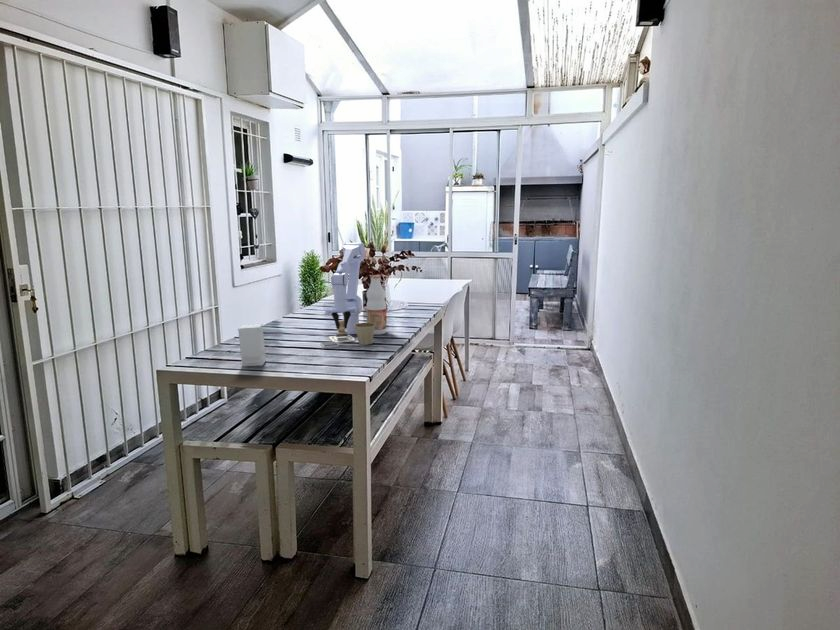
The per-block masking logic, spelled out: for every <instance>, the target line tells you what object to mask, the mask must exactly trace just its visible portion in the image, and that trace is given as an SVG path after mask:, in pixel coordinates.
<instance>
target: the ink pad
mask: <svg viewBox="0 0 840 630" xmlns="http://www.w3.org/2000/svg"><path fill="white" fill-rule="evenodd" d="M320 346H321V347H322V348H323V349H332V348H339V343H336V342H335V341H323V342H320Z"/></svg>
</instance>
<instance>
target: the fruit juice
mask: <svg viewBox="0 0 840 630" xmlns="http://www.w3.org/2000/svg"><path fill="white" fill-rule="evenodd" d="M369 278H370V283H369V284H370V285H369V288H368V289H367V290H366V299H367V302H366V323H374V324H376V325H375V328H374V334H373V336H376V335H377V336H378V335H385V334H386V333H387V329H388V328H387V326H388V325H387V303H386V300H385V299H386V290H385V288H383V286H382V283H381V278H382V276H381V275H380V274H372V275H370V276H369Z"/></svg>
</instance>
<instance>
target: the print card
mask: <svg viewBox="0 0 840 630" xmlns="http://www.w3.org/2000/svg"><path fill="white" fill-rule="evenodd" d="M347 335H348V336H347V337H336V335H333V336H332V335H331V336H328V339H329V340H330V342H332V341H335V342H336V343H337V344H340V343H342V344H343V343H351V342H352V343H353V342H356V341H357V340H356V338H354V337H353V336H351V334H347Z"/></svg>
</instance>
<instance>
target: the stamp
mask: <svg viewBox="0 0 840 630" xmlns="http://www.w3.org/2000/svg"><path fill="white" fill-rule="evenodd" d="M348 335H349V334H347V331H346V330H345V321H344V320H343V319H342V320H339V329H337V331H336V332H335V336H336V337H347V336H348Z"/></svg>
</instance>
